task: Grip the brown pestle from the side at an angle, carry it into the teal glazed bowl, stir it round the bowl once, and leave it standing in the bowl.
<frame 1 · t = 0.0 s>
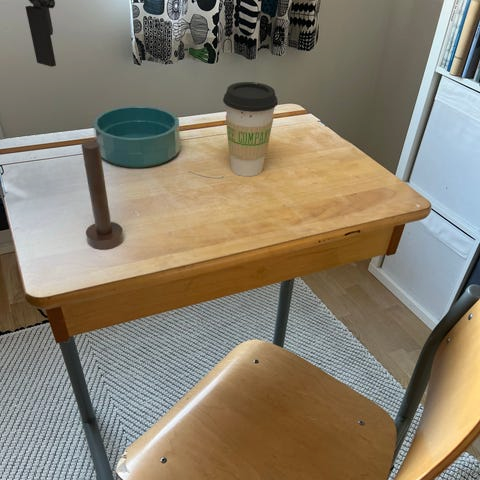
hand: (5, 77, 64), 24 cm above the table, tool pointing down, fingers open, 13 cm apart
bowl: (139, 150, 105), on the table
coffee cup: (246, 170, 101), on the table
brown pestle: (105, 239, 81), on the table
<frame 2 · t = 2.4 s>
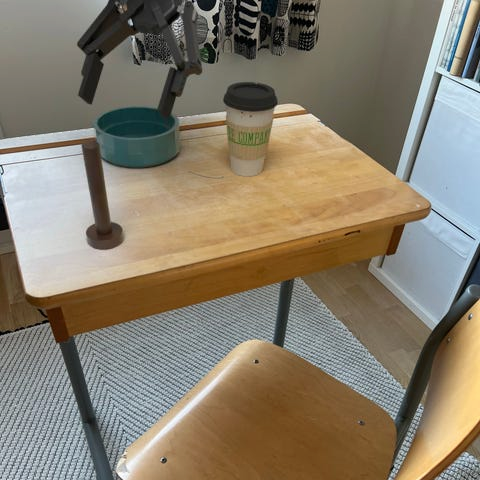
hand: (122, 107, 76), 17 cm above the table, tool tilted 45°, fingers open, 13 cm apart
nothing on the table moved.
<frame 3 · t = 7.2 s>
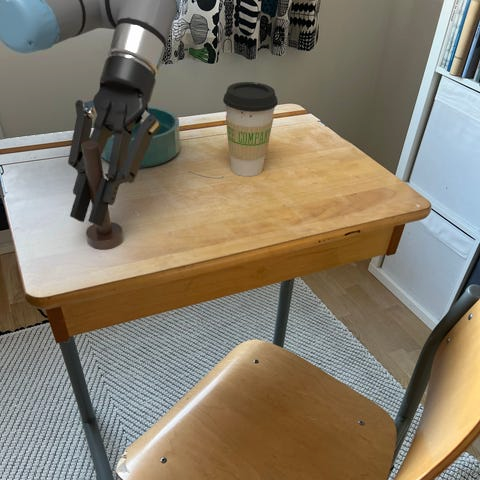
hand: (86, 221, 75), 6 cm above the table, tool tilted 45°, fingers closed on brown pestle, 2 cm apart
brown pestle: (105, 239, 81), on the table, touching gripper
everything else where it was.
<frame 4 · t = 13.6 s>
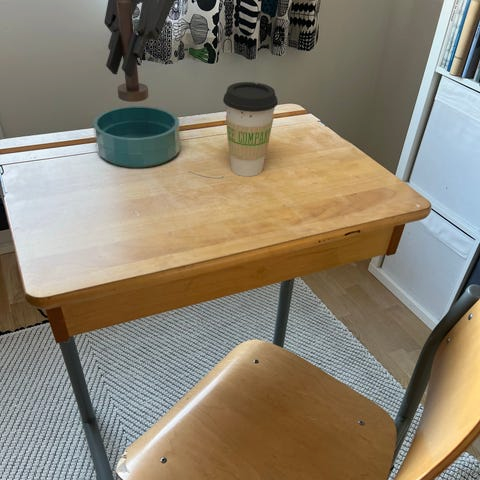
hand: (119, 71, 90), 17 cm above the table, tool tilted 45°, fingers closed on brown pestle, 2 cm apart
brown pestle: (133, 96, 97), point 11 cm above the table, touching gripper
everything else where it was.
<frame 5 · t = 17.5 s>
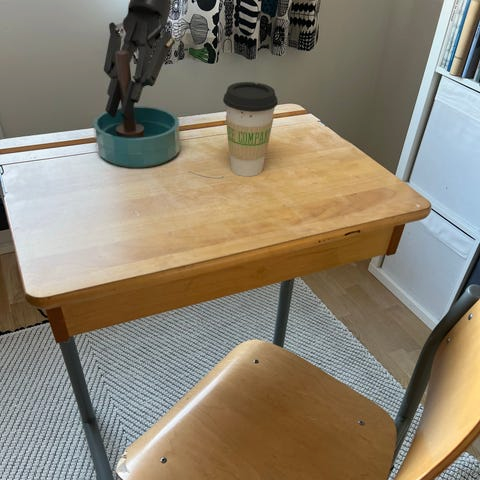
hand: (117, 115, 97), 8 cm above the table, tool tilted 45°, fingers closed on brown pestle, 2 cm apart
brown pestle: (130, 135, 104), point 3 cm above the table, touching gripper
everything else where it was.
when the fingers open (6 cm above the table, at t = 20.3 s): brown pestle stays where it is, resting on bowl.
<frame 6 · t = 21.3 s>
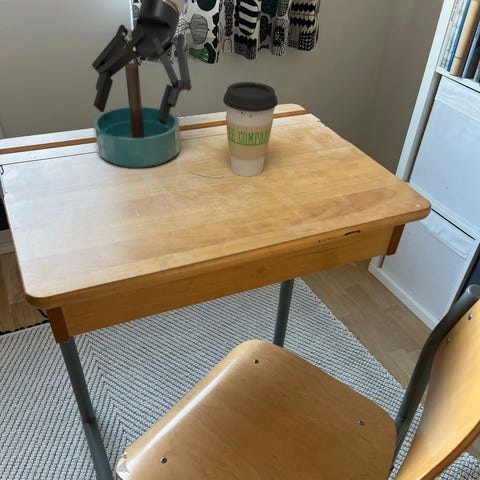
hand: (129, 115, 98), 8 cm above the table, tool tilted 45°, fingers open, 13 cm apart
brown pestle: (139, 147, 104), point 1 cm above the table, touching bowl
everything else where it was.
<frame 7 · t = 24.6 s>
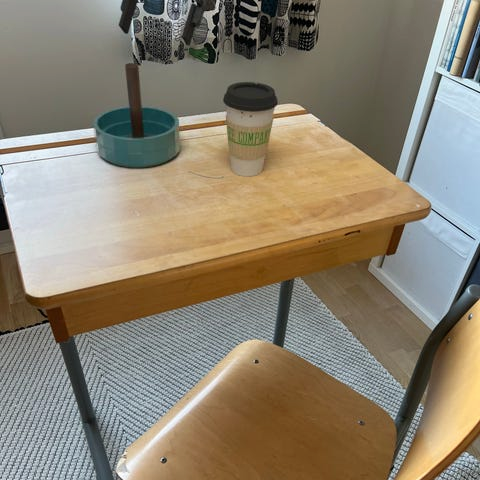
hand: (153, 35, 99), 19 cm above the table, tool tilted 45°, fingers open, 13 cm apart
nothing on the table moved.
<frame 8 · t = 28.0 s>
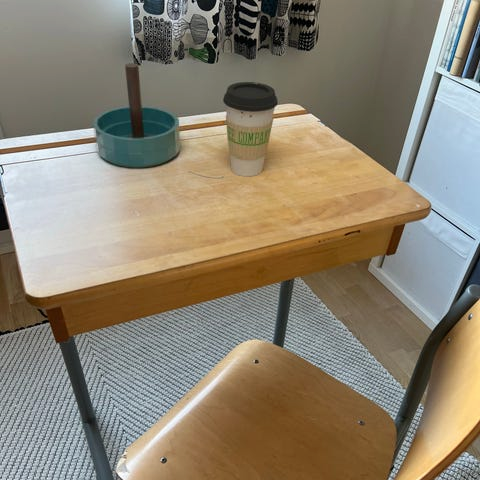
nothing on the table moved.
at the end: brown pestle inside the target area in the bowl (0.1 cm from its centre), point 0.8 cm above the bowl's base; brown pestle moved 32.3 cm from its start; the gripper is holding nothing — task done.
